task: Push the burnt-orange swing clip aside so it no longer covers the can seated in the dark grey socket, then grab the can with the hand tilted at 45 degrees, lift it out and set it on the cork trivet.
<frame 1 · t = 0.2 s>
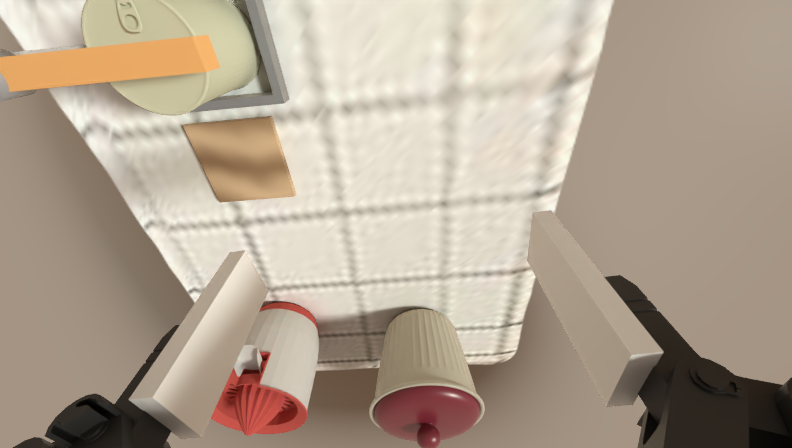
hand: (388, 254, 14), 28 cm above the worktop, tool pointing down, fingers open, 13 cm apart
citrus juicer: (286, 316, 60), on the worktop
socket: (217, 44, 33), on the worktop
trivet: (245, 161, 41), on the worktop
clip: (87, 65, 20), point 16 cm above the worktop, hinge at 0.0°
can: (218, 44, 34), resting in socket
canister: (419, 325, 62), on the worktop
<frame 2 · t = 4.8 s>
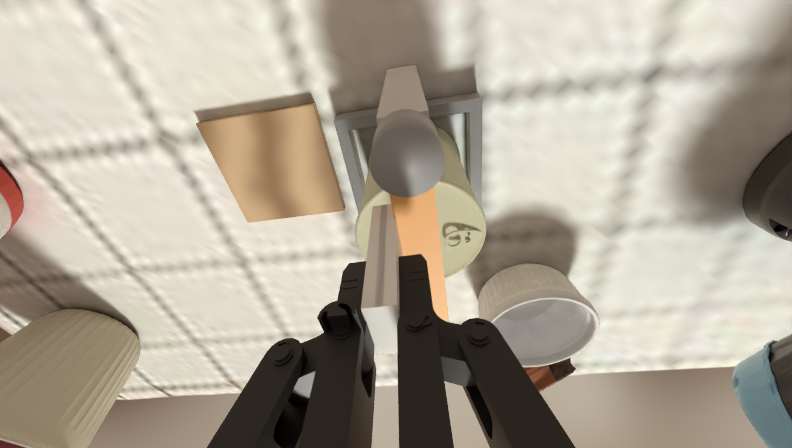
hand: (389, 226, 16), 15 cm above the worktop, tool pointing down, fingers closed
ramekin: (519, 290, 41), on the worktop
socket: (414, 167, 31), on the worktop
trivet: (279, 167, 31), on the worktop
clip: (424, 266, 17), point 16 cm above the worktop, hinge at 1.0°, touching gripper
can: (414, 166, 31), resting in socket
pottery mug: (520, 342, 48), on the worktop
canister: (101, 329, 47), on the worktop
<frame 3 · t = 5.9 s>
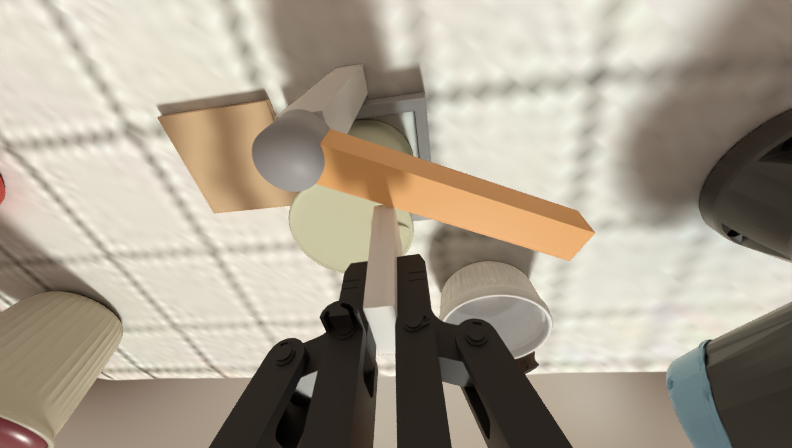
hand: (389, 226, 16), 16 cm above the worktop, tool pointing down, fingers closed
ramekin: (483, 287, 42), on the worktop
socket: (369, 164, 31), on the worktop
trivet: (240, 161, 32), on the worktop
clip: (432, 192, 15), point 16 cm above the worktop, hinge at 63.7°, touching gripper
can: (369, 163, 32), resting in socket
canister: (86, 312, 49), on the worktop
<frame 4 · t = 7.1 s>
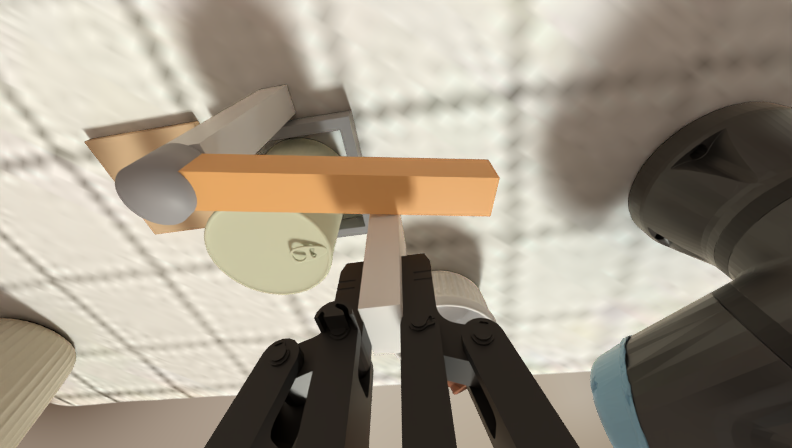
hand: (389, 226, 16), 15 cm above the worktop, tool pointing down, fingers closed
ramekin: (436, 295, 42), on the worktop
socket: (307, 181, 32), on the worktop
trivet: (176, 181, 32), on the worktop
clip: (316, 186, 14), point 16 cm above the worktop, hinge at 79.9°, touching gripper
can: (307, 179, 32), resting in socket
canister: (36, 338, 48), on the worktop
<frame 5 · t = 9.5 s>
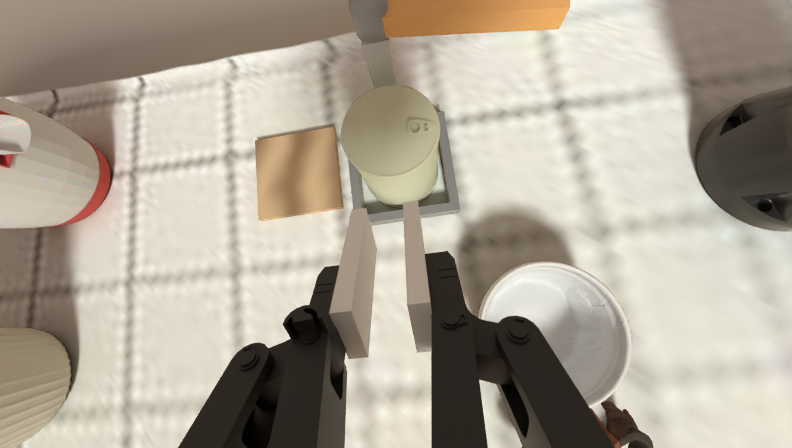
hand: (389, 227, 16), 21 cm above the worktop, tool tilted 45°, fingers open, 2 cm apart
ramekin: (529, 322, 34), on the worktop
citrus juicer: (84, 184, 44), on the worktop
socket: (401, 172, 39), on the worktop
trivet: (299, 174, 40), on the worktop
clip: (454, 10, 24), point 16 cm above the worktop, hinge at 80.2°
can: (401, 173, 39), resting in socket
pottery mug: (560, 427, 32), on the worktop
canister: (38, 378, 40), on the worktop
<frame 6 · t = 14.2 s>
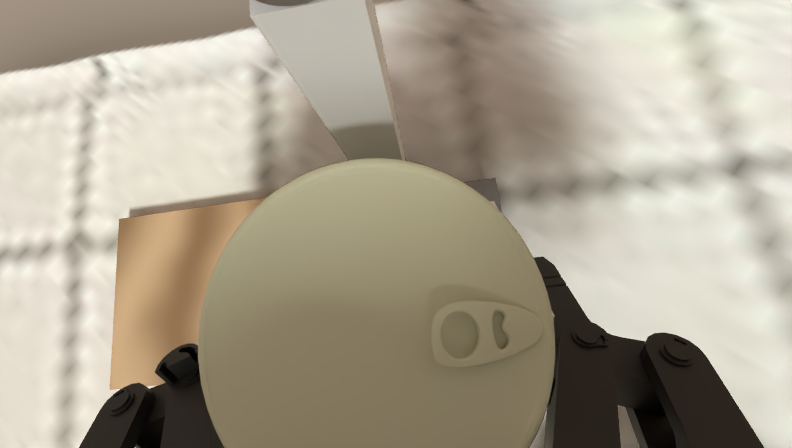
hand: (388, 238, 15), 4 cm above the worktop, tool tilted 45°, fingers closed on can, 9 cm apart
socket: (403, 298, 19), on the worktop
trivet: (201, 290, 20), on the worktop
can: (403, 298, 19), resting in socket, touching gripper
when the fingers open (6 cm above the worktop, at t = 19.7 s): can drops 1 cm, resting on trivet.
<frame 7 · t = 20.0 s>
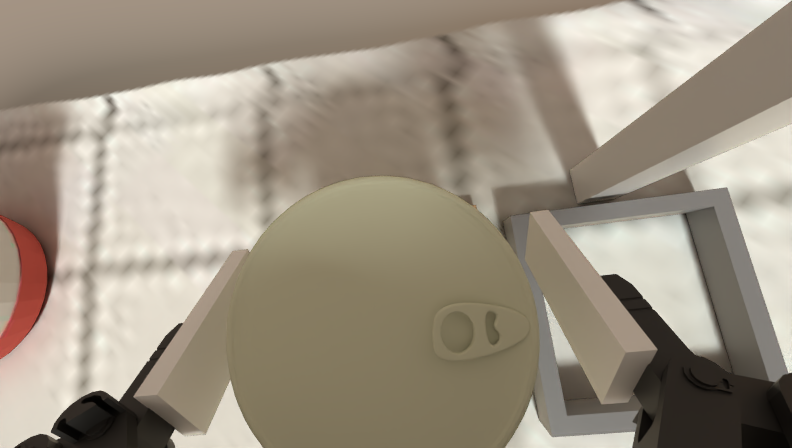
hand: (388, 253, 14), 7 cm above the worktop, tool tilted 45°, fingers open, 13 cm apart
citrus juicer: (2, 290, 25), on the worktop
socket: (621, 304, 19), on the worktop
can: (404, 298, 20), point 1 cm above the worktop, touching trivet
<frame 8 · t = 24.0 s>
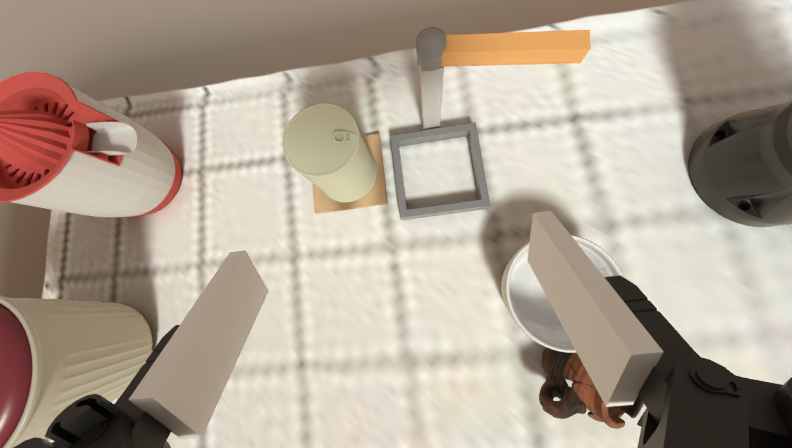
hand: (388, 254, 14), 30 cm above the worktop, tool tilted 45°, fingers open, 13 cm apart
ramekin: (542, 288, 41), on the worktop
citrus juicer: (157, 180, 51), on the worktop
socket: (437, 173, 45), on the worktop
trivet: (348, 174, 47), on the worktop
clip: (498, 47, 31), point 16 cm above the worktop, hinge at 80.2°
can: (347, 173, 46), point 1 cm above the worktop, touching trivet
pottery mug: (571, 372, 39), on the worktop
canister: (121, 347, 46), on the worktop
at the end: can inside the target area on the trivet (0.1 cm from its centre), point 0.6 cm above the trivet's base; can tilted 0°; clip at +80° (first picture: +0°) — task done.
